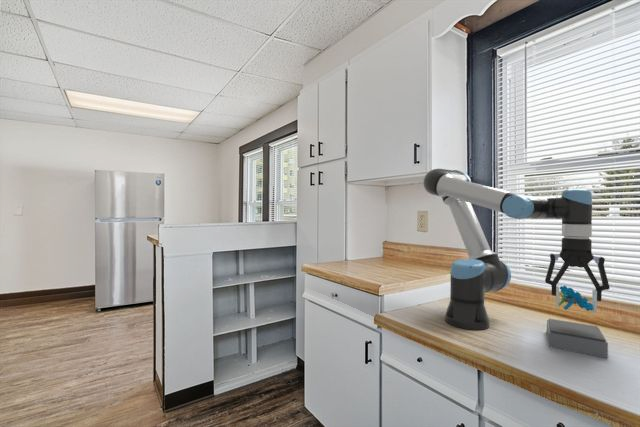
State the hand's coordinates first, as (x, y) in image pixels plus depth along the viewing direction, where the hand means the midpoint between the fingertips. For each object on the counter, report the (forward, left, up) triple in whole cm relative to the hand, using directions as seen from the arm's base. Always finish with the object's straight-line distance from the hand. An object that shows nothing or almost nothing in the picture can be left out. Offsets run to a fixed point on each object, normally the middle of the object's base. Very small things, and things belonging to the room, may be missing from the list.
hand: (575, 308), depth 104 cm
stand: (0, 0, -11) cm, 11 cm away
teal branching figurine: (0, 0, -1) cm, 1 cm away
